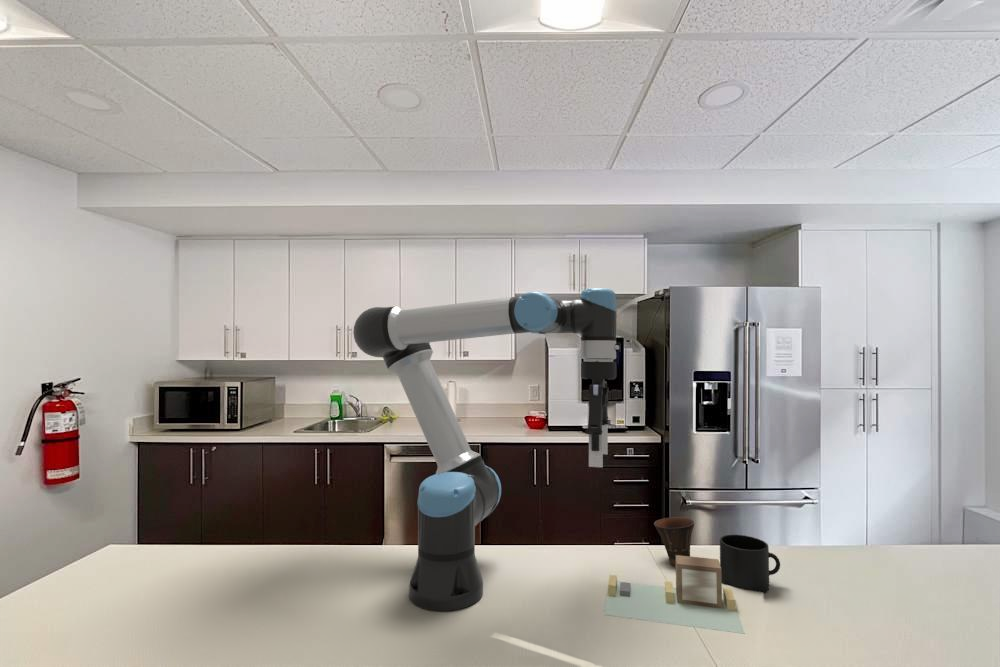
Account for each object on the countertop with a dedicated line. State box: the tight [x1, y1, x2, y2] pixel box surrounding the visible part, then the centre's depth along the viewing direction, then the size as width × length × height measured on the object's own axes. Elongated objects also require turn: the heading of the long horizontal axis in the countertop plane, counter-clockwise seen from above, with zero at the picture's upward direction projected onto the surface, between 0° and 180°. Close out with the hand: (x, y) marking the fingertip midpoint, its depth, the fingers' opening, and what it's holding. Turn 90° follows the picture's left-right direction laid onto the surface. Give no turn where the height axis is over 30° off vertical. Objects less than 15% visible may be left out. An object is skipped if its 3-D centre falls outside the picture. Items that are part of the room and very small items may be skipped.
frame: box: [675, 555, 723, 609], centre depth 101 cm, size 8×5×8 cm, turn 74°
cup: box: [653, 516, 695, 567], centre depth 122 cm, size 9×9×10 cm
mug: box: [719, 534, 781, 594], centre depth 110 cm, size 9×12×9 cm
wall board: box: [603, 574, 746, 635], centre depth 100 cm, size 24×15×3 cm, turn 74°
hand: (598, 460), depth 110 cm, fingers open, 13 cm apart
